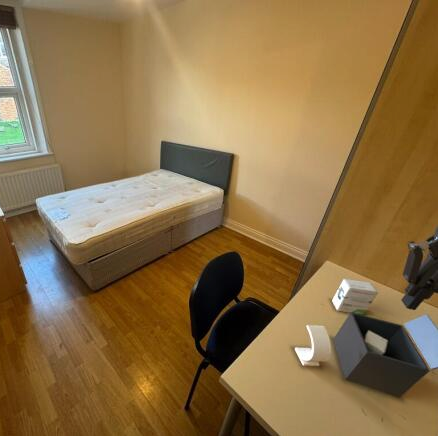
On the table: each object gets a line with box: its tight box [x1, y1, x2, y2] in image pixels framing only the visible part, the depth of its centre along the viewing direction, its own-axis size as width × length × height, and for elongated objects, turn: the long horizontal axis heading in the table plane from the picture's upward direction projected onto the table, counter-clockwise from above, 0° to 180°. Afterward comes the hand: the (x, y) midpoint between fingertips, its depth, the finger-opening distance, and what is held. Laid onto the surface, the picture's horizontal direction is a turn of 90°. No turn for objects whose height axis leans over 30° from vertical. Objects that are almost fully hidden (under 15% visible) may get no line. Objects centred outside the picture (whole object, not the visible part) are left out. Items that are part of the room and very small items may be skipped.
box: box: [363, 331, 388, 355], centre depth 66 cm, size 5×4×11 cm
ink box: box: [331, 278, 379, 316], centre depth 83 cm, size 9×5×12 cm, turn 75°
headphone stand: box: [294, 324, 332, 367], centre depth 68 cm, size 5×6×12 cm
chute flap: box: [403, 313, 438, 371], centre depth 58 cm, size 6×13×1 cm
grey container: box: [333, 312, 431, 399], centre depth 65 cm, size 12×13×14 cm
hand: (407, 304), depth 56 cm, fingers closed
